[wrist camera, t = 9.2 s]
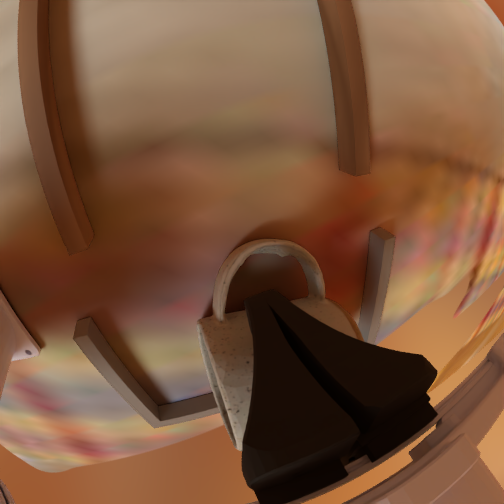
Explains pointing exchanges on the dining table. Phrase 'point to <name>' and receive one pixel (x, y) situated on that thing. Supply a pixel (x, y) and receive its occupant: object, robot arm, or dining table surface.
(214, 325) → the speckled coffee cup
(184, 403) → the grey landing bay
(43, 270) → the dining table surface
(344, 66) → the walnut dock
